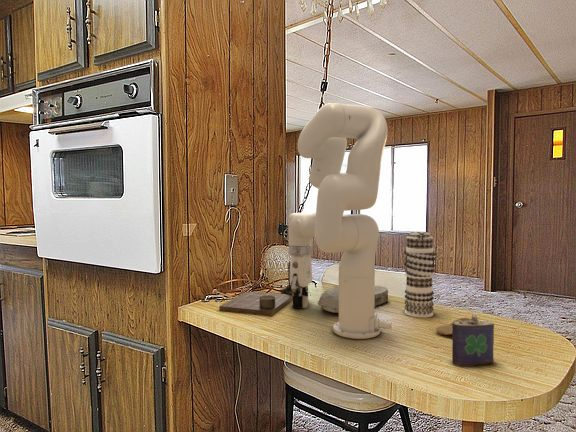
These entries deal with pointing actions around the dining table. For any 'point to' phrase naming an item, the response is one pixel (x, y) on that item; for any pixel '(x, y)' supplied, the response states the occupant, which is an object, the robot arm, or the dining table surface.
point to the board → (255, 303)
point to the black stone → (267, 302)
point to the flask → (472, 342)
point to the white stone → (305, 301)
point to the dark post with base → (289, 282)
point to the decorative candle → (419, 274)
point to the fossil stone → (331, 298)
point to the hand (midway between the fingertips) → (300, 304)
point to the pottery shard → (449, 327)
